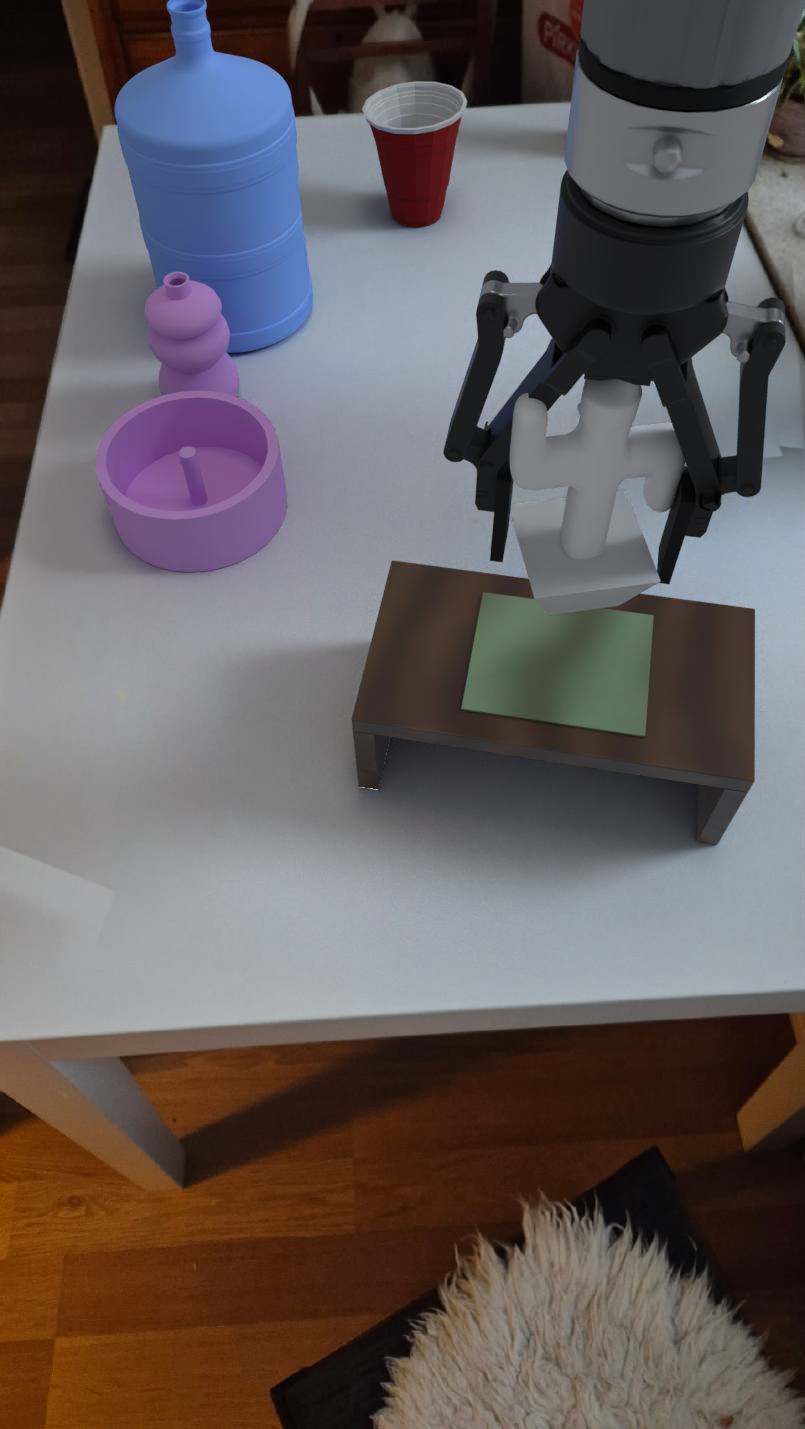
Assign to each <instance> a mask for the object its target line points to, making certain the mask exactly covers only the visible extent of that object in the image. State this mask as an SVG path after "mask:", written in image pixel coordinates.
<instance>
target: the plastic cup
mask: <svg viewBox="0 0 805 1429" xmlns="http://www.w3.org/2000/svg"><path fill="white" fill-rule="evenodd" d="M467 105H468V100H467V98H466V96H465V93H464V92H463V91H462V90H459V88H457V87H454V86H453V85H450V84H447V83H442V82H437V81H409V82H402V83H397V84H396V83H395V84H393V85H390V86H388V87H385V88H382V89H380V90H377V91H376V92H374V93H373V94H372V95H370V96H369V97H368V98H366V100H365V102H364V104H363V106H362V108H361V110H362V112H363V115H364V119H365V120H366V123H367V124H368V125H369V127H370V129H371V133H372V136H373V139H374V143H375V146H376V152H377V157H378V161H379V166H380V170H381V175H382V181H383V185H384V188H385V191H386V198H387V202H388V208H389V211H390V214H391V217H392V219H393V220H394V221H395V222H396V223H397V224H399V225H402V226H405V227H406V228H407V227H408V228H409V227H410V228H423V227H428V226H431V225H433V224H436V222H437V221H438V220H440V219H441V216H442V213H443V210H444V207H445V201H446V195H447V191H448V190H447V189H448V186H449V183H450V178H451V172H452V166H453V161H454V156H455V150H456V144H457V138H458V135H459V130H460V125H461V122H462V117H463V116H464V114H465V111H466V108H467Z"/></svg>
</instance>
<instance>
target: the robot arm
mask: <svg viewBox="0 0 805 1429" xmlns="http://www.w3.org/2000/svg"><path fill="white" fill-rule="evenodd" d="M804 10H805V0H583V6H582V16H581V24H580V33H579V37H578V48H577V51H576V55H575V63H574V73H573V80H572V89H571V99H570V106H569V116H568V124H567V133H566V140H565V141H566V142H565V149H564V150H565V151H564V159H563V161H564V164H565V167H566V170H565V172H564V174H563V176H562V179H561V182H560V188H559V197H558V205H557V214H556V222H555V231H554V239H553V247H552V254H551V262H550V265H549V267H548V269H547V270H546V271H545V272H544V274H542V276H541V277H540V279H539V282H510V280H509V277H508V275H507V274H506V273H505V272H504V271H502V270H498V269H495V270H490V271H488V272H487V273H485V275H484V277H483V280H482V286H481V289H480V294H479V297H478V301H477V302H478V303H477V306H476V310H475V318H476V319H475V320H476V329H477V330H476V331H477V340H476V343H475V346H474V349H473V351H472V354H471V358H470V361H469V363H468V367H467V370H466V373H465V376H464V379H463V381H462V385H461V387H460V391H459V393H458V397H457V400H456V403H455V406H454V408H453V412H452V414H451V418H450V422H449V425H448V429H447V434H446V439H445V442H444V447H443V454H442V455H443V456H444V458H445V459H446V461H447V460H448V461H449V462H451V463H459V462H460V463H461V462H463V461H467V462H469V463H470V464H472V465H473V466H474V467H475V469H476V480H475V482H476V483H475V497H474V505H475V507H476V509H477V511H481V512H489V513H493V519H492V532H491V533H492V534H491V544H490V553H489V554H490V555H489V561H490V562H496V563H503V562H504V557H505V551H506V544H507V539H508V534H509V527H510V518H511V514H510V510H511V504H512V500H513V492H514V491H513V490H514V489H513V488H514V483H515V482H514V481H513V478H512V475H511V471H510V445H511V434H512V423H513V413H514V407H515V403H516V401H517V399H518V398H519V397H520V396H521V395H523V394H525V393H528V395H529V397H528V398H533V399H537V400H540V401H542V402H543V403H544V404H545V405H546V408H547V413H548V412H549V411H550V410H551V408H552V407H553V406H554V405H555V403H557V401H558V400H559V398H560V397H561V396H563V397H565V396H566V395H567V394H568V393H569V392H570V391H571V390H572V389H573V387H574V386H575V385H576V383H578V381H579V380H580V379H581V378H582V377H583V379H584V380H585V379H589V380H598V381H602V380H612V379H619V380H622V381H625V382H628V383H631V384H634V385H641V386H644V387H650V386H651V383H652V382H653V383H654V387H655V388H656V391H657V394H658V397H659V400H660V403H661V405H662V407H663V408H666V411H667V414H668V416H669V420H670V423H672V425H673V428H674V431H675V434H676V437H677V440H678V442H679V445H680V448H681V451H682V454H683V456H684V459H685V466H684V469H683V473H682V476H681V480H680V483H679V486H678V490H677V493H676V497H675V500H674V503H673V505H672V506H671V508H670V509H669V510H668V514H667V518H666V521H665V524H664V528H663V532H662V535H661V538H660V542H659V545H658V551H657V563H656V564H657V565H656V570H657V573H658V575H659V578H660V581H661V582H659V583H658V584H662V585H670V584H671V582H672V581H671V580H672V578H673V576H674V575H673V574H674V572H675V568H676V565H677V563H678V562H677V561H678V559H679V556H680V552H681V550H682V546H683V543H684V540H685V537H690V538H699V539H700V538H702V537H703V536H704V535H705V534H706V533H707V531H708V529H709V525H710V523H711V520H712V517H713V514H714V512H716V511H719V509H720V508H721V506H722V497H723V496H724V495H726V494H730V493H737V494H738V495H739V496H740V497H743V498H751V497H755V496H757V495H758V494H759V493H760V492H761V489H762V479H763V478H762V477H763V464H764V452H765V451H764V449H765V448H764V447H765V433H766V421H767V406H768V405H767V404H768V390H769V377H770V375H771V372H772V371H773V369H774V367H775V365H776V363H777V361H778V359H779V357H780V355H781V354H782V351H783V350H784V348H785V345H786V341H787V339H786V306H785V303H784V301H783V300H782V299H780V298H778V297H767V298H765V299H763V300H762V301H760V303H759V304H758V305H757V306H754V305H749V304H745V303H740V302H736V301H730V299H729V294H728V292H727V291H728V290H727V289H726V285H727V281H728V277H729V274H730V270H731V267H732V263H733V260H734V257H735V254H736V251H737V250H736V249H737V246H738V243H739V239H740V236H741V232H742V228H743V225H744V221H745V219H746V218H745V217H746V215H747V211H748V208H749V201H750V200H749V199H750V197H749V192H748V191H749V190H750V189H751V187H752V185H753V184H754V182H755V181H756V178H757V175H758V172H759V167H760V164H761V160H762V156H763V153H764V150H765V145H766V142H767V138H768V134H769V131H770V127H771V123H772V120H773V117H774V112H775V109H776V105H777V102H778V98H779V94H780V90H781V87H782V83H783V80H784V76H785V74H786V72H787V70H788V69H787V68H788V65H789V62H790V57H791V54H792V50H793V49H794V44H795V43H794V41H795V38H796V36H797V32H798V30H799V26H800V23H801V20H802V17H803V14H804ZM532 315H537V317H538V319H539V320H540V322H541V323H542V325H543V326H544V328H545V329H546V332H548V334H549V335H550V337H551V339H550V340H549V342H548V344H547V347H546V349H545V351H544V353H543V354H542V355H541V357H540V358H539V359H538V361H537V362H536V363H535V364H534V365H533V367H532V368H531V369H530V371H529V372H528V374H526V375H525V377H524V378H523V380H522V381H521V382H520V384H519V385H518V386H517V388H516V389H515V390H514V392H513V393H512V394H511V395H510V396H509V398H508V399H507V400H506V402H505V403H504V404H503V405H502V407H501V408H500V410H499V411H498V412H497V413H496V414H495V416H494V418H492V420H491V421H490V422H489V421H485V423H484V427H480V426H478V424H479V422H480V418H481V417H482V416H481V415H482V413H483V410H484V407H485V404H486V402H487V400H488V397H489V393H490V390H491V388H492V386H493V383H494V380H495V377H496V374H497V372H498V369H499V366H500V364H501V361H502V356H503V353H504V348H505V345H506V339H512V338H513V337H514V336H515V334H518V333H519V332H520V331H521V330H522V329H523V326H524V322H525V320H526V319H527V318H528V317H530V316H532ZM721 334H724V335H725V336H727V337H728V338H729V350H730V353H731V354H732V356H734V357H735V358H736V360H737V362H739V382H738V384H739V385H738V406H737V408H738V411H737V435H736V455H735V454H734V455H728V456H722V453H721V450H720V447H719V443H718V441H717V438H716V435H715V431H714V429H713V425H712V423H711V419H710V415H709V413H708V409H707V407H706V404H705V400H704V397H703V394H702V391H701V387H700V385H699V381H698V378H697V375H696V371H695V368H694V364H693V357H694V356H696V355H697V354H698V353H699V352H700V351H702V350H703V349H704V348H705V347H706V346H708V345H709V344H710V343H712V342H713V341H714V340H716V339H717V338H718V337H719V336H720V335H721Z"/></svg>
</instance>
